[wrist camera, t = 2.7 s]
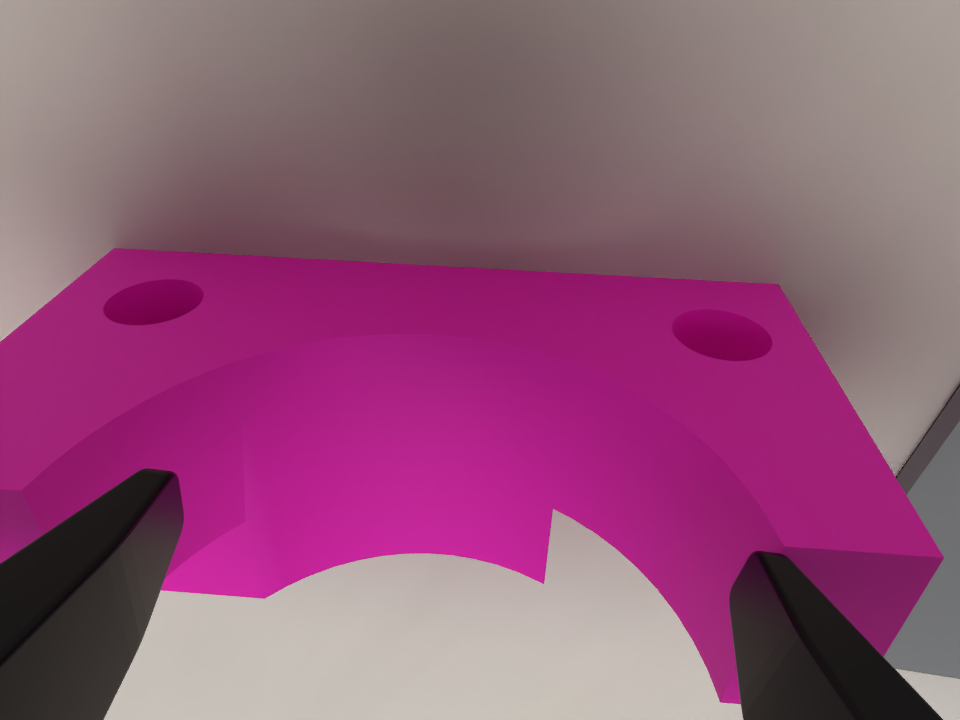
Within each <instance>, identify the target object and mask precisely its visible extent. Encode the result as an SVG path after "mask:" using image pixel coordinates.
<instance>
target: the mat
mask: <svg viewBox="0 0 960 720" xmlns="http://www.w3.org/2000/svg"><path fill="white" fill-rule="evenodd" d="M896 479H897V481H898V482H899V484H900V486H901V487H902V489H903V491H904V492H905V494H906V495H907V497H908V499H909V500H910V502H911V504H912V505H913V507H914V509H915V510H916V512H917V514H918V515H919V517H920V519H921V520H922V522H923V523H924V525H925V527H926V528H927V530H928V532H929V533H930V535H931V537H932V538H933V540H934V542H935V543H936V545H937V547H938V548H939V550H940V551H941V553H942V555H943V556H944V559H943V561H942V563H941V564H940V566H939V567H938V569H937V571H936V572H935V574H934V576H933V577H932V579H931V580H930V582H929V584H928V585H927V587H926V589H925V590H924V592H923V593H922V595H921V597H920V598H919V600H918V602H917V603H916V605H915V606H914V608H913V610H912V611H911V613H910V615H909V616H908V618H907V619H906V621H905V623H904V624H903V626H902V628H901V629H900V631H899V632H898V634H897V636H896V637H895V639H894V641H893V642H892V644H891V646H890V647H889V649H888V650H887V652H886V654H885V655H884V658H885V659H886V660H887V661H888V662H889V663H890V664H891V666H892V667H893V668H894V669H901V670H907V671H914V672H920V673H926V674H933V675H939V676H945V677H952V678H958V679H960V387H959V388H958V389H957V391H956V392H955V394H954V395H953V397H952V398H951V400H950V401H949V403H948V404H947V405H946V407H945V408H944V410H943V411H942V413H941V414H940V416H939V417H938V419H937V420H936V421H935V423H934V424H933V426H932V427H931V429H930V430H929V432H928V433H927V434H926V436H925V437H924V439H923V440H922V442H921V443H920V445H919V446H918V448H917V449H916V450H915V452H914V453H913V455H912V456H911V458H910V459H909V461H908V462H907V464H906V465H905V466H904V468H903V469H902V471H901V472H900V474H899V475H898V477H897V478H896Z"/></svg>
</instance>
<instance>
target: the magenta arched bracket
mask: <svg viewBox="0 0 960 720" xmlns="http://www.w3.org/2000/svg"><path fill="white" fill-rule="evenodd" d="M144 468H152V469H159V470H167V471H172V472H175V473H176V475H177V476H178V479H179V484H180V490H181V497H182V504H183V510H184V523H183V528H182V532H181V535H180V538H179V541H178V543H177V546H176V549H175V552H174V554H173V557H172V560H171V563H170V565H169V568H168V571H167V574H166V576H165V579H164V582H163V585H162V587H161V590H164V591H177V592H189V593H202V594H215V595H227V596H240V597H253V598H267V597H268V596H270V595H272V594H274V593H275V592H277V591H279V590H281V589H283V588H284V587H286V586H288V585H290V584H292V583H295V582H297V581H299V580H301V579H303V578H306V577H308V576H310V575H312V574H315V573H318V572H321V571H323V570H326V569H329V568H332V567H334V566H338V565H342V564H345V563H349V562H353V561H357V560H361V559H367V558H372V557H378V556H384V555H395V554H405V553H432V554H446V555H455V556H461V557H467V558H473V559H477V560H481V561H485V562H489V563H493V564H497V565H500V566H502V567H505V568H508V569H511V570H514V571H517V572H519V573H521V574H524V575H526V576H528V577H530V578H532V579H534V580H537V581H539V582H541V583H543V584H544V579H545V571H546V562H547V554H548V545H549V536H550V528H551V519H552V511H553V509H555V510H557V511H559V512H561V513H563V514H565V515H567V516H569V517H570V518H572V519H574V520H576V521H577V522H579V523H580V524H582V525H584V526H585V527H587V528H588V529H590V530H592V531H593V532H595V533H596V534H597V535H599V536H600V537H601V538H603V539H604V540H605V541H607V542H608V543H609V544H611V545H612V546H613V547H615V548H616V549H617V550H618V551H620V552H621V553H622V554H623V555H624V556H625V557H626V558H627V559H628V560H630V561H631V562H632V563H633V564H634V565H635V566H636V567H637V568H638V569H639V570H640V571H641V572H642V573H643V574H644V575H645V576H646V577H647V578H648V580H649V581H650V582H651V583H652V584H653V585H654V586H655V587H656V588H657V589H658V591H659V592H660V593H661V594H662V596H663V597H664V598H665V600H666V601H667V602H668V604H669V605H670V606H671V607H672V609H673V610H674V611H675V613H676V614H677V616H678V617H679V619H680V620H681V622H682V624H683V625H684V627H685V628H686V630H687V632H688V633H689V635H690V636H691V638H692V640H693V641H694V643H695V645H696V647H697V649H698V651H699V653H700V655H701V657H702V659H703V661H704V663H705V665H706V667H707V669H708V672H709V674H710V677H711V679H712V682H713V684H714V687H715V690H716V692H717V695H718V697H719V700H720V702H722V703H734V704H741V700H740V693H739V684H738V676H737V667H736V659H735V651H734V642H733V634H732V625H731V617H730V609H729V595H730V590H731V587H732V585H733V583H734V582H735V580H736V578H737V576H738V574H739V573H740V571H741V569H742V567H743V566H744V564H745V562H746V560H747V558H748V557H749V555H750V554H751V553H753V552H754V551H765V552H773V553H780V554H783V555H785V556H787V557H788V558H789V559H790V560H791V561H792V562H793V563H794V564H795V565H796V566H797V567H798V568H799V569H800V570H801V571H802V572H803V573H804V574H805V575H806V576H807V577H808V578H809V579H810V581H811V582H812V583H813V584H814V585H815V586H816V587H817V588H818V589H819V590H820V591H821V592H822V593H823V594H824V595H825V596H826V597H827V598H828V599H829V600H830V602H831V603H832V604H833V605H834V606H835V607H836V608H837V609H838V610H839V611H840V612H841V613H842V614H843V615H844V616H845V617H846V618H847V619H848V620H849V621H850V622H851V624H852V625H853V626H854V627H855V628H856V629H857V630H858V631H859V632H860V633H861V634H862V635H863V636H864V637H865V638H866V639H867V640H868V641H869V642H870V643H871V645H872V646H873V647H874V648H875V649H876V650H877V651H878V652H879V653H880V654H881V655H882V656H883V657H884V655H885V654H886V652H887V650H888V649H889V647H890V646H891V644H892V642H893V641H894V639H895V637H896V636H897V634H898V632H899V631H900V629H901V628H902V626H903V624H904V623H905V621H906V619H907V618H908V616H909V615H910V613H911V611H912V610H913V608H914V606H915V605H916V603H917V602H918V600H919V598H920V597H921V595H922V593H923V592H924V590H925V589H926V587H927V585H928V584H929V582H930V580H931V579H932V577H933V576H934V574H935V572H936V571H937V569H938V567H939V566H940V564H941V563H942V561H943V559H944V556H943V555H942V553H941V551H940V550H939V548H938V547H937V545H936V543H935V542H934V540H933V538H932V537H931V535H930V533H929V532H928V530H927V528H926V527H925V525H924V523H923V522H922V520H921V519H920V517H919V515H918V514H917V512H916V510H915V509H914V507H913V505H912V504H911V502H910V500H909V499H908V497H907V495H906V494H905V492H904V491H903V489H902V487H901V486H900V484H899V482H898V481H897V479H896V477H895V476H894V474H893V472H892V471H891V469H890V467H889V466H888V464H887V463H886V461H885V459H884V458H883V456H882V454H881V453H880V451H879V449H878V448H877V446H876V444H875V443H874V441H873V439H872V438H871V436H870V435H869V433H868V431H867V430H866V428H865V426H864V425H863V423H862V421H861V420H860V418H859V416H858V415H857V413H856V411H855V410H854V408H853V406H852V405H851V403H850V402H849V400H848V398H847V397H846V395H845V393H844V392H843V390H842V388H841V387H840V385H839V383H838V382H837V380H836V378H835V377H834V375H833V374H832V372H831V370H830V369H829V367H828V365H827V364H826V362H825V360H824V359H823V357H822V355H821V354H820V352H819V350H818V349H817V347H816V346H815V344H814V342H813V341H812V339H811V337H810V336H809V334H808V332H807V331H806V329H805V327H804V326H803V324H802V322H801V321H800V319H799V318H798V316H797V314H796V313H795V311H794V309H793V308H792V306H791V304H790V303H789V301H788V299H787V298H786V296H785V294H784V293H783V291H782V289H781V288H780V286H779V285H778V284H761V283H742V282H724V281H705V280H687V279H669V278H650V277H632V276H614V275H595V274H577V273H558V272H540V271H522V270H503V269H485V268H467V267H448V266H430V265H411V264H393V263H375V262H356V261H338V260H320V259H301V258H283V257H264V256H246V255H228V254H209V253H191V252H173V251H154V250H136V249H117V248H114V249H113V250H111V251H110V252H109V253H108V254H107V255H105V256H104V257H103V258H102V259H100V260H99V261H98V262H97V263H96V264H94V265H93V266H92V267H91V268H90V269H88V270H87V271H86V272H85V273H84V274H82V275H81V276H80V277H79V278H77V279H76V280H75V281H74V282H73V283H71V284H70V285H69V286H68V287H67V288H65V289H64V290H63V291H62V292H60V293H59V294H58V295H57V296H56V297H54V298H53V299H52V300H51V301H50V302H48V303H47V304H46V305H45V306H43V307H42V308H41V309H40V310H39V311H37V312H36V313H35V314H34V315H33V316H31V317H30V318H29V319H28V320H27V321H25V322H24V323H23V324H22V325H20V326H19V327H18V328H17V329H16V330H14V331H13V332H12V333H11V334H10V335H8V336H7V337H6V338H5V339H3V340H2V341H1V342H0V563H1V562H3V561H4V560H6V559H7V558H9V557H10V556H12V555H13V554H15V553H16V552H18V551H19V550H21V549H22V548H24V547H25V546H27V545H28V544H30V543H31V542H33V541H34V540H36V539H37V538H39V537H40V536H42V535H43V534H45V533H46V532H48V531H49V530H51V529H52V528H53V527H55V526H56V525H58V524H59V523H61V522H62V521H64V520H65V519H67V518H68V517H70V516H71V515H73V514H74V513H76V512H77V511H79V510H80V509H82V508H83V507H85V506H86V505H88V504H89V503H91V502H92V501H94V500H95V499H97V498H98V497H100V496H101V495H103V494H104V493H106V492H107V491H109V490H110V489H112V488H113V487H115V486H116V485H118V484H119V483H121V482H122V481H124V480H125V479H127V478H128V477H130V476H131V475H133V474H134V473H136V472H137V471H139V470H141V469H144Z"/></svg>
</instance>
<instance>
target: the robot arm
mask: <svg viewBox="0 0 960 720" xmlns="http://www.w3.org/2000/svg"><path fill="white" fill-rule="evenodd" d="M183 523H184V510H183V504H182V497H181V490H180V484H179V479H178V476H177V475H176V473H175V472H172V471H167V470H159V469H152V468H144V469H141V470H139V471H137V472H136V473H134V474H133V475H131V476H130V477H128V478H127V479H125V480H124V481H122V482H121V483H119V484H118V485H116V486H115V487H113V488H112V489H110V490H109V491H107V492H106V493H104V494H103V495H101V496H100V497H98V498H97V499H95V500H94V501H92V502H91V503H89V504H88V505H86V506H85V507H83V508H82V509H80V510H79V511H77V512H76V513H74V514H73V515H71V516H70V517H68V518H67V519H65V520H64V521H62V522H61V523H59V524H58V525H56V526H55V527H53V528H52V529H51V530H49V531H48V532H46V533H45V534H43V535H42V536H40V537H39V538H37V539H36V540H34V541H33V542H31V543H30V544H28V545H27V546H25V547H24V548H22V549H21V550H19V551H18V552H16V553H15V554H13V555H12V556H10V557H9V558H7V559H6V560H4V561H3V562H1V563H0V720H104V718H105V715H106V713H107V711H108V709H109V707H110V705H111V703H112V701H113V699H114V697H115V695H116V693H117V691H118V689H119V687H120V685H121V683H122V681H123V679H124V677H125V675H126V673H127V671H128V669H129V667H130V665H131V663H132V661H133V659H134V657H135V654H136V652H137V650H138V648H139V646H140V643H141V641H142V639H143V636H144V634H145V631H146V628H147V626H148V623H149V620H150V618H151V615H152V612H153V609H154V607H155V604H156V601H157V598H158V596H159V593H160V590H161V587H162V585H163V582H164V579H165V576H166V574H167V571H168V568H169V565H170V563H171V560H172V557H173V554H174V552H175V549H176V546H177V543H178V541H179V538H180V535H181V532H182V528H183ZM729 609H730V617H731V625H732V634H733V642H734V651H735V659H736V667H737V676H738V684H739V693H740V700H741V707H742V714H743V720H943V719H942V718H941V717H940V716H939V715H938V714H937V713H936V712H935V711H934V710H933V709H932V707H931V706H930V705H929V704H928V703H927V702H926V701H925V700H924V699H923V698H922V697H921V696H920V695H919V694H918V693H917V692H916V691H915V690H914V689H913V688H912V686H911V685H910V684H909V683H908V682H907V681H906V680H905V679H904V678H903V677H902V676H901V675H900V674H899V673H898V672H897V671H896V670H895V669H894V668H893V667H892V666H891V664H890V663H889V662H888V661H887V660H886V659H885V658H884V657H883V656H882V655H881V654H880V653H879V652H878V651H877V650H876V649H875V648H874V647H873V646H872V645H871V643H870V642H869V641H868V640H867V639H866V638H865V637H864V636H863V635H862V634H861V633H860V632H859V631H858V630H857V629H856V628H855V627H854V626H853V625H852V624H851V622H850V621H849V620H848V619H847V618H846V617H845V616H844V615H843V614H842V613H841V612H840V611H839V610H838V609H837V608H836V607H835V606H834V605H833V604H832V603H831V602H830V600H829V599H828V598H827V597H826V596H825V595H824V594H823V593H822V592H821V591H820V590H819V589H818V588H817V587H816V586H815V585H814V584H813V583H812V582H811V581H810V579H809V578H808V577H807V576H806V575H805V574H804V573H803V572H802V571H801V570H800V569H799V568H798V567H797V566H796V565H795V564H794V563H793V562H792V561H791V560H790V559H789V558H788V557H787V556H785V555H783V554H780V553H773V552H765V551H754V552H753V553H751V554H750V555H749V557H748V558H747V560H746V562H745V564H744V566H743V567H742V569H741V571H740V573H739V574H738V576H737V578H736V580H735V582H734V583H733V585H732V587H731V590H730V595H729Z"/></svg>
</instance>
